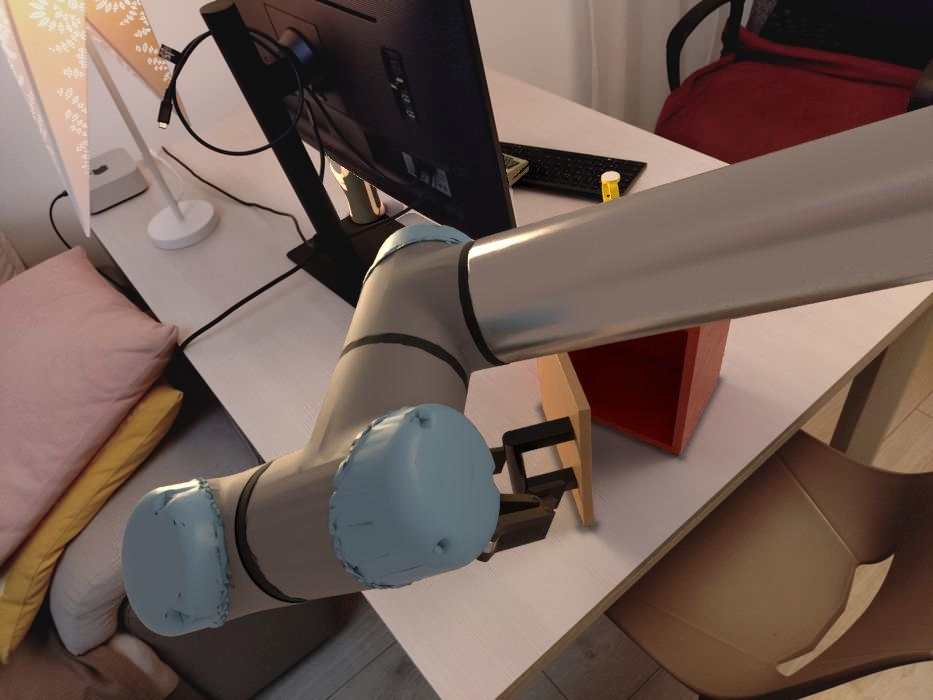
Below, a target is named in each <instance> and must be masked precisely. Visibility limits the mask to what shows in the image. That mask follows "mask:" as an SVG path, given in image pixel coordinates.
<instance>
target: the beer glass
mask: <svg viewBox="0 0 933 700" xmlns="http://www.w3.org/2000/svg"><path fill="white" fill-rule="evenodd" d="M325 156H326V159H327V162H328V166H329V168H330V171H331V172H332V174H333V177H334V179H335V181H336V182H337V184H338V186H339V187H340V190H341V191H342V192H343V194H344V196H345V198H346V201H347V204H348V208H349V215H350V218H351V220H352V221H353V222H354V223H356V224H360V225H366V224H370V223H374V222H376V221H378V220H379V219H381V218H382V217H383V215H384V214H385V211H386V208H385V207H386V206H385V205H384V203H383V201H382V199H381V198H380V195H379V193H378V188H377V187H376V188H375V187H373V186H372V185H370V184H369V183H367V182H365V181H364V180H362V179H360V178H359V177H357V176H356V175H354V174H353V173H351V172H350V171H348V170H347V169H345V168H344V167H342V166H340V165H338V164H337V163H336V162H335V161H333V160H332V159H330V157H329V156H327V154H326V153H325Z"/></svg>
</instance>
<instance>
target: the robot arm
mask: <svg viewBox="0 0 933 700" xmlns="http://www.w3.org/2000/svg"><path fill="white" fill-rule="evenodd" d="M931 281H933V105H932V104H931V105H928V106H926V107H922V108H918V109H915V110H912V111H909V112H908V111H907V112H905V113H901V114H898V115H894V116H892V117H888V118H884V119H881V120H878V121H873V122H871V123H867V124H864V125H860V126H858V127H853V128H850V129H847V130H844V131H840V132H837V133H833V134H830V135H826V136H824V137H823V136H822V137H819V138H816V139H813V140H810V141H806V142H803V143H799V144H796V145H792V146H790V147H789V146H788V147H786V148H782V149H779V150H775V151H772V152H768V153H765V154H761V155H758V156H754V157H752V158H748V159H746V160H741V161H738V162H734V163H732V164H728V165H725V166H721V167H718V168H714V169H710V170H708V171H705V172H700V173H698V174H694V175H690V176H687V177H684V178H681V179H678V180H674V181H670V182H666V183H664V184H660V185H657V186H653V187H650V188H646V189H643V190H639V191H636V192H633V193H630V194H626V195H623V196H619V198H616V199H612V200H609V201H605V202H604V201H603V202H599V203H595V204H592V205H589V206H585V207H582V208H579V209H575V210H571V211H569V212H565V213H561V214H558V215H555V216H552V217H548V218H544V219H541V220H537V221H535V222H531V223H527V224H524V225H521V226H517V227H513V228H510V229H507V230H504V231H503V230H502V231H501V232H496V233H494V234H493V233H492V234H490V235H487V236H483V237H480V238H478V239H474V240H473V239H471V237H469V236H468V235H467V234H465V233H464V232H462V231H460V230H458V229H456V228H455V227H452V226H450V225H445V224H442V225H437V224H428V223H427V222H418V223H413V224H409V225H406V226H404V227H402V228H399V229H398V230H396V231H394V232H393V233H392V234H391V235H390V236H388V238H386V239H385V241H384V242H383V244H382V245H381V247H380V248H379V249H378V253H377V255H376V257H375V259H374V261H373V264H372V265H371V266H370V267H369V269H368V270H367V272H366V275H365V276H364V280H363V282H362V284H361V289H360V293H359V298H358V301H357V305H356V308H355V311H354V314H353V316H352V318H351V319H352V320H351V323H350V325H349V327H348V331H347V334H346V337H345V339H344V344H343V346H342V349H341V353H340V355H339V357H338V361H337V363H336V365H335V368H334V371H333V374H332V377H331V379H330V382H329V385H328V387H327V391H326V394H325V396H324V399H323V402H322V405H321V407H320V410H319V412H318V416H317V418H316V421H315V424H314V427H313V430H312V432H311V436H310V438H309V441H308V442H307V443H306V444H305V446H304V447H302V448H300V449H298V450H295V451H292V452H290V453H287V454H285V455H283V456H279V457H277V458H275V459H272V460H270V461H268V462H266V463H263V464H260V465H257V466H254V467H252V468H249V469H247V470H245V471H241V472H238V473H235V474H231V475H226V476H222V477H215V478H207V479H204V477H202V476H201V477H195V478H192V479H191V480H189V481H186V482H181V483H175V484H171V485H165V486H161V487H160V486H159V487H156V488H154V489H153V490H150V491H149V492H147V493H146V494H145V495H143V496H142V497H141V498H140V499H139V500H138V501H137V503H136V504H135V505H134V507H133V508H132V510H131V512H130V514H129V516H128V519H127V521H126V524H125V527H124V530H123V535H122V542H121V553H120V558H121V570H122V578H123V579H122V580H123V586H124V590H125V593H126V596H127V599H128V601H129V605H130V607H131V609H132V610H133V612H134V614H135V615H136V617H137V618H138V620H139V622H140V623H141V624H142V625H144V627H145V628H147V629H148V630H150V631H151V632H153V633H155V634H157V635H160V636H163V637H178V636H182V635H187V634H189V633H194V632H197V631H200V630H203V629H207V628H210V629H218V628H219V627H221V626H223V625H225V623H226V622H229V621H231V620H234V619H237V618H240V617H243V616H247V615H250V614H253V613H257V612H258V613H259V612H263V611H266V610H273V609H278V608H282V607H289V606H294V605H301V604H305V603H308V602H311V601H313V600H317V599H318V600H319V599H324V598H329V597H335V596H341V595H348V594H355V593H359V592H365V591H371V590H380V591H381V590H387V589H394V590H395V589H401V588H404V587H407V586H411V585H412V584H413V583H415V582H420V581H421V580H424V579H427V578H428V579H429V578H431V577H435V576H438V575H443V574H446V573H449V572H453V571H457V570H460V569H462V568H464V567H466V566H468V565H470V564H471V563H472V562H474V561H475V560H477V561H478V562H481V563H487V562H489V561H490V560H491V558H492V557H494V555H495V554H497V553H501V552H504V551H508V550H512V549H514V548H518V547H521V546H525V545H529V544H532V543H536V542H540V541H542V540H546V537H547V535H548V534H549V531H550V527H551V525H552V523H553V521H554V519H555V516H556V509H558V508H559V506H560V503H561V501H562V499H563V496H564V493H565V492H566V491H565V489H566V486H567V484H568V483H566V482H564V481H563V480H558V481H554V482H550V483H546V484H542V485H538V486H535V487H531V488H528V489H527V491H526V494H513V493H503V492H502V493H501V492H500V490H499V488H498V487H497V485H496V483H495V480H494V475H500V474H502V472H503V470H504V467H505V464H506V463H507V462H506V457H505V453H504V448H503V445H502V446H495V447H489V445H488V443H487V442H486V440H485V438H484V437H483V435H482V433H481V432H480V431H479V429H478V428H477V426H476V425H475V424H474V423H473V422H472V421H471V420H470V419H469V418H468V417H467V416H466V415H465V410H466V405H467V397H468V394H469V393H468V392H469V386H470V381H471V376H472V374H473V373H474V372H479V371H482V370H488V369H492V368H493V369H494V368H497V367H503V366H508V365H510V364H512V363H517V362H524V361H527V360H533V359H537V358H539V357H544V356H549V355H554V354H559V353H564V352H569V351H574V350H579V349H585V348H590V347H595V346H600V345H605V344H610V343H615V342H620V341H625V340H630V339H635V338H641V337H646V336H651V335H656V334H661V333H666V332H671V331H676V330H681V329H686V328H692V327H697V326H702V325H707V324H712V323H717V322H722V321H727V320H731V321H732V320H736V319H737V320H738V319H743V318H747V317H752V316H757V315H762V314H767V313H773V312H778V311H782V310H788V309H792V308H798V307H804V306H808V305H814V304H819V303H824V302H828V301H834V300H840V299H843V298H848V297H855V296H859V295H865V294H870V293H875V292H880V291H885V290H890V289H896V288H899V287H905V286H910V285H915V284H916V285H917V284H921V283H927V282H931ZM564 491H565V492H564Z"/></svg>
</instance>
